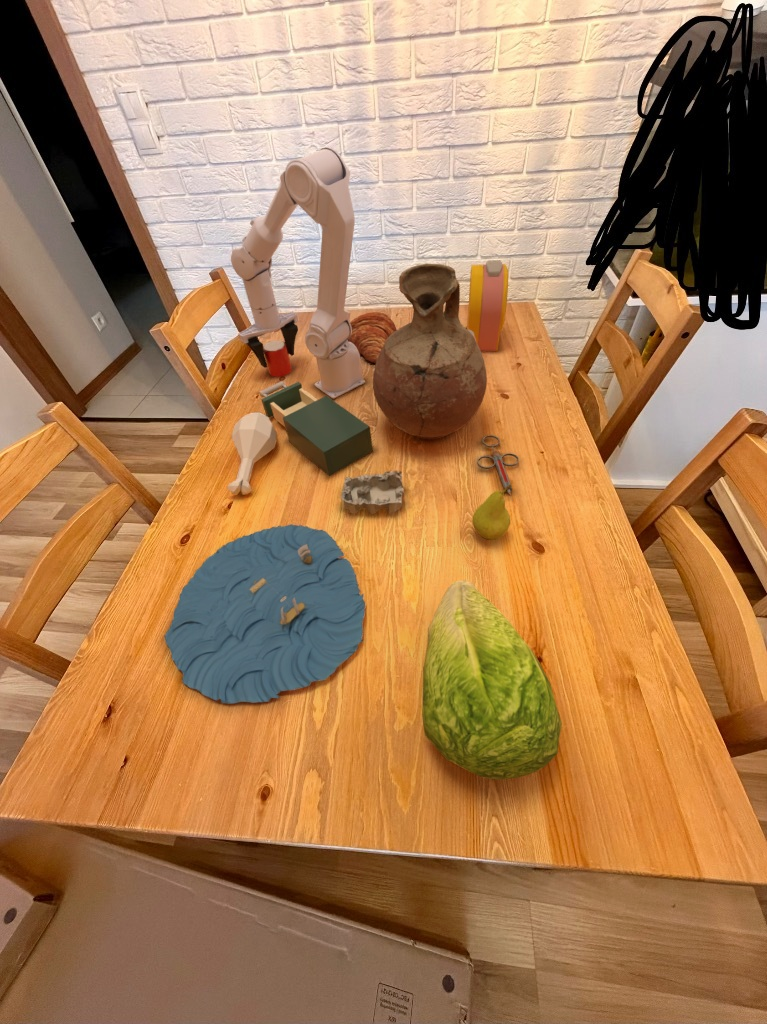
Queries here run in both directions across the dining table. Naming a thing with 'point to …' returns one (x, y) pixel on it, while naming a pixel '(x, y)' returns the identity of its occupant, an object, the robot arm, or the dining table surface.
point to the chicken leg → (251, 447)
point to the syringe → (499, 463)
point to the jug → (430, 359)
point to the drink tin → (277, 358)
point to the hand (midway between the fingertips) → (277, 359)
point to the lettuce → (486, 691)
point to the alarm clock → (487, 303)
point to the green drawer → (284, 400)
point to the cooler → (328, 435)
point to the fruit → (492, 516)
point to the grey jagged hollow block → (373, 492)
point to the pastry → (371, 334)
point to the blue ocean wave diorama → (267, 616)
